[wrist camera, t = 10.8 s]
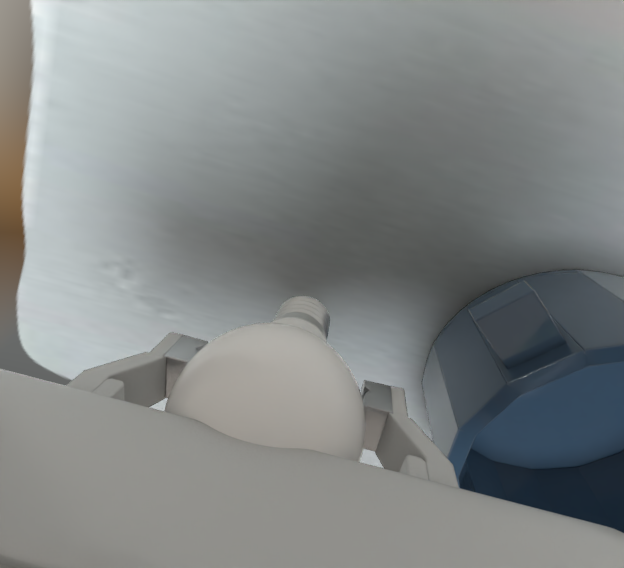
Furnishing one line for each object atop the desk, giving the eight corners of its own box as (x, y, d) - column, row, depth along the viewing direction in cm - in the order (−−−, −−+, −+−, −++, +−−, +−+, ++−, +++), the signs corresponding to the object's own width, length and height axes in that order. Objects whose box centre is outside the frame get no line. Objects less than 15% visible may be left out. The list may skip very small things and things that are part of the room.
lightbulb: (363, 371, 20) (356, 612, 10) (249, 360, 21) (135, 572, 11) (372, 259, 18) (373, 426, 8) (242, 252, 18) (89, 393, 8)
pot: (605, 169, 18) (747, 192, 11) (749, 450, 22) (912, 589, 15) (353, 318, 23) (345, 396, 16) (511, 523, 27) (557, 652, 20)
